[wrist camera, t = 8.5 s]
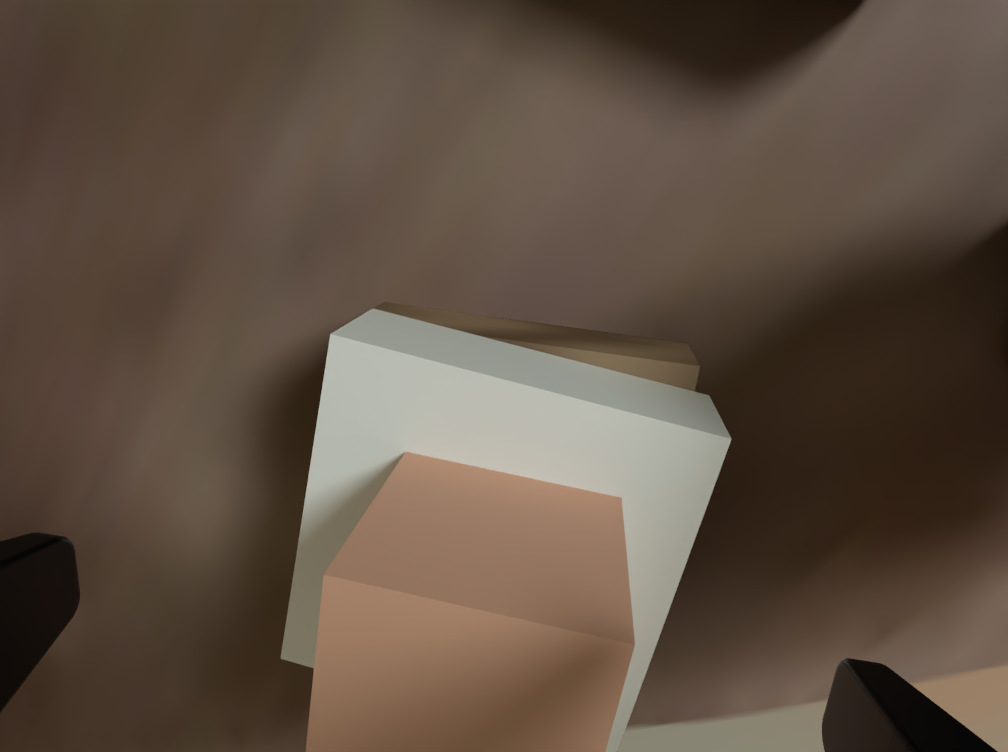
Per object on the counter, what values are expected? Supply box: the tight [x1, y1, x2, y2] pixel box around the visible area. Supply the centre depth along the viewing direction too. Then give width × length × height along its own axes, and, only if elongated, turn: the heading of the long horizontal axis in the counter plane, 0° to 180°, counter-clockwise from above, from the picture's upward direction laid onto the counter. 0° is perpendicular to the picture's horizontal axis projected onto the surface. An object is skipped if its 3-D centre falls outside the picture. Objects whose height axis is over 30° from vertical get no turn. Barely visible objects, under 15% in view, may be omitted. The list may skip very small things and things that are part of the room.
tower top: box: [280, 309, 732, 752], centre depth 17 cm, size 9×9×3 cm
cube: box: [306, 452, 635, 752], centre depth 14 cm, size 5×5×5 cm
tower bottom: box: [374, 302, 700, 392], centre depth 20 cm, size 9×9×3 cm
